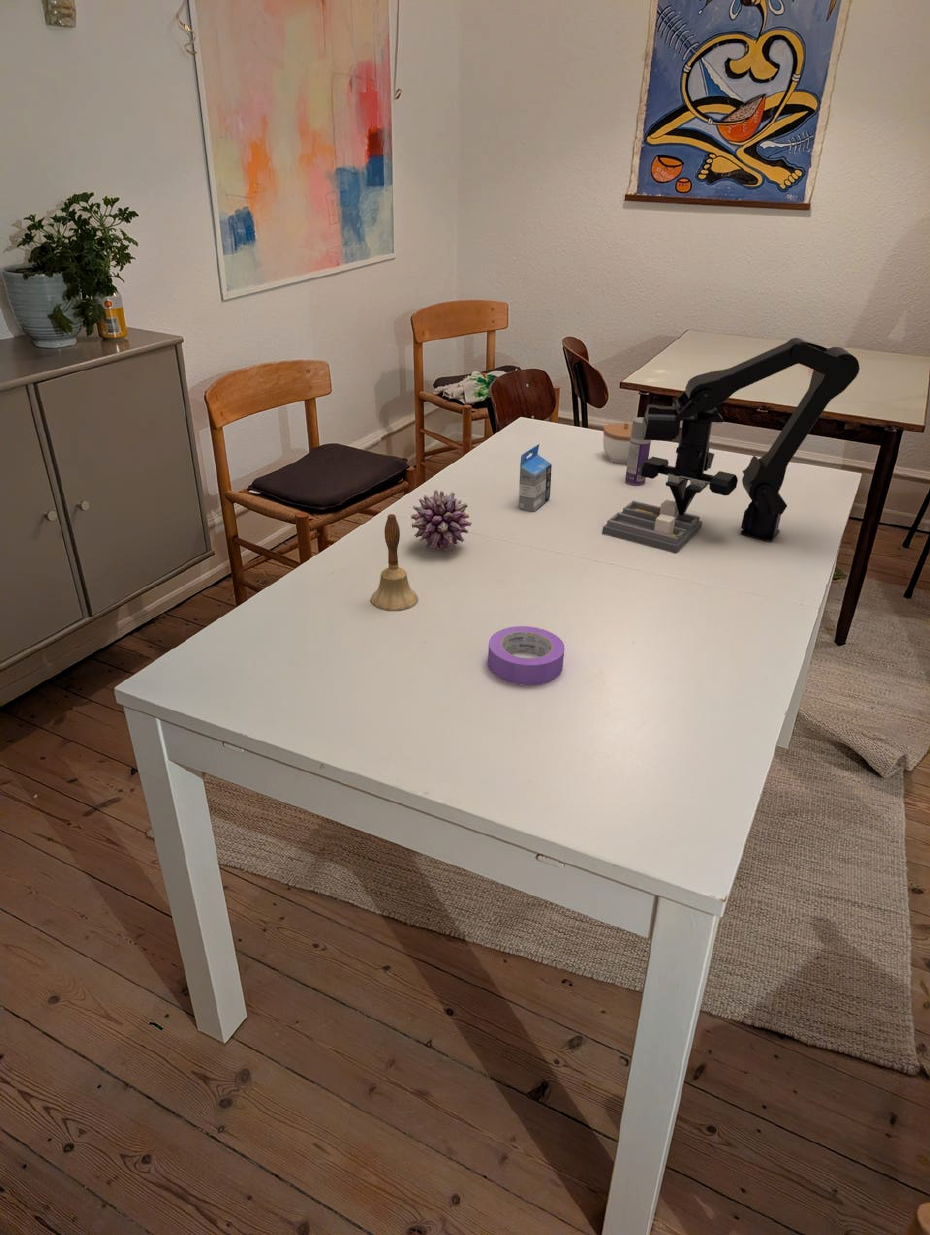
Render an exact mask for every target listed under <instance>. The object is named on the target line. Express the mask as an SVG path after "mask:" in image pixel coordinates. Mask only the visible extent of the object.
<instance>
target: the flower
mask: <svg viewBox="0 0 930 1235" xmlns="http://www.w3.org/2000/svg"><path fill="white" fill-rule="evenodd" d="M455 495H456V493H455V492H454V491H451V492H450V494H449V495H448V494H444V491H443V490H442V491H440V492H439V491H438V490H437V489H434V490H433V495H432V496H430V497H428V496H427V495H426V494H425V495H424V496H422V497H423V498H421V497H420V498H419V499H418V501H419V503H420V506H416V505H413V506H412V509H413V510H415V511H416V513H414V514H410V519H412V520H414V522H411V529H414V528H416V529H418V530H417V532H416V533H415V534H414V536H415V538H420V539H419V541H420V542H423V540H425V541H426V543H427V544H426V546H425V548H426V549H430V548H431V546H432V547H434V548H435V547H436V549H439V550H440V549H441V548H442V549H443V551H444V552H448V551H449V546H450V545H455V546H457V544H458V541H459V542H461V543H463V542H464V541H465V538H464V537H463V535H462V533H464V534H468V533H469V529H466V527H467V526H468V527H470V526H472V524H473V523H472V522H471V521H469V520H466V519H468V518H470V515H469V513H468V514H466V511H465V510H466V508H468V507H469V505H468V503H467V502H466V503H462V499H459V500H458V501H457V499H456V498H455Z"/></svg>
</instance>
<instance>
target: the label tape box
mask: <svg viewBox="0 0 930 1235" xmlns="http://www.w3.org/2000/svg"><path fill="white" fill-rule="evenodd" d="M539 447H540V443H538V444H536V445H535V446H533V447H532V448H530V449H528V450H527V451H525V452H523V453H522V454H521V456H520V464H519V491H518V492H519V493H518V494H519V496H518V497H519V498H518V510H523V511H527V512H535V511H536V510H538V509H539V508H540V507H541V506H543V505H544V504H545V503H546V502H548V501H549V500H551V499H550V498H551V483H552V468H553V467H552V466H553V464H552V463H551V462H549V461H548V460H546V459H545V458H544V457H542V456H540V455H539V454H538V453H539V449H540V448H539Z"/></svg>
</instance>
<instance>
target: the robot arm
mask: <svg viewBox="0 0 930 1235" xmlns="http://www.w3.org/2000/svg"><path fill="white" fill-rule="evenodd" d="M859 363H860V362H859V360H858V359H857V357H855V356H854V355H853V354H851V353H850V352H849V351H848V350H846V349H844V348H843V347H841V346H831V347H829V348H828V347H825V346H822V345H820V344H816V343H812V342H808V341H806V340H804V339H803V338H800V337H794V338H790V339H789V340H788V341H786V342H785V343H782V344H780V345H778V346H776V347H774V348H771V349H770V350H767V351H765V352H762V353H760V354H758V355H755V356H754V357H752V358H749V359H747V360H745V361H743V362H740V363H739V364H736V365H734V366H731V367H730V368H726V369H722V370H721V369H719V370H713V371H712V370H711V371H708V372H705V373H701V374H697V375H695V376H693V377H692V378H691V377H690V379H688V381H687V383H686V386H685V389H684V391H682V393H681V394H679V396H678V397H677V398H676V399H675V400H674V401H673V402H672V405H671V406H667V405H657V404H647V407H646V411H645V412H644V413H645V414H644V418H643V424H642V439H643V440H651V441H658V442H659V441H660V442H661V441H663V442H672V441H673V440H676V438H677V437H679V440H678V446H677V447H676V450H675V454H676V459H675V465H674V466H671V465H669V460H668V459H666V458H661V457H657V456H651V457H649V458H648V460H647V461H646V462H644V463H643V464H642V466H641V469H640V476H643V477H646V478H647V479H655V478H656V477H658V476H659V474H661V475H664V476H668V477H667V481H666V482H665V486H666V487H669V489H670V491H671V494H672V497H673V498H674V501H675V502H676V505H677V509H678V512H679V515H682V516H683V515H684V514H685V513H687V510H688V508H689V506H690V504H691V503H692V501H693V499H694V498H695V496H696V495H697V494H700V493H701V492H702V491H703V490H705V489H706V488H707V487H708V486H709V487H708V488H709V490H710V491H711V492H712V493H714V494H716V495H722V496H729V495H730V494H731V493H733V492H734V491H735V489H737V487H738V486H737V485H738V482H739V481H738V480H739V479H738V478H739V477H738V476H737V474H734V473H730V472H727V471H726V472H725V471H721V470H719V471H718V472H717V473H715V474H714V475H712V474H708V473H704V472H708V470H709V469H711V468H712V465H713V460H714V457H715V453H712V452H710V445H709V444H710V438H711V432H712V427H713V423H719V424H720V423H724V421H725V419H724V418H723V416H722V415H721V414H720V413H719V410H718V409H717V407H718V406H720V405H722V404H723V403H724V402H726V401H727V400H728V399H730V397H731V396H733V395H734V394H735V393H736V392H738V391H740V390H741V389H744V388H747V387H748V386H751V385H752V384H755V383H757V382H760V381H762V380H764V379H766V378H769V377H771V376H773V375H776V374H778V373H780V372H782V371H784V370H787V369H789V368H791V367H793V366H795V365H801V366H804V367H807V368H809V369H811V370H812V374H811V378H810V382H809V387H808V389H807V391H806V392H805V394H804V396H803V397H802V398H801V400H800V401H799V402H798V404H797V407H796V408H795V409H794V410H793V413H792V414H791V416H790V417H789V419H788V420H787V422H786V423H785V425H784V426H783V428H782V430H781V431H780V433H779V434H778V436H777V437H776V439H775V440H774V442H773V444H772V445H771V447H770V448H769V450H767V452H766V454H764V455H761V457H760V458H759V457H757V456H755V455H753V456H752V457H751V458H750V462H749V463H748V465H747V467H746V468H745V469H743V470H742V474H743V476H742V480H741V481H742V483H741V484H742V486H743V489H744V490H745V492H746V494H747V495H748V497H749V499H750V500H751V501H750V502H749V504H747V507H746V508H745V510H744V512H743V516H742V517H743V518H742V522H741V525H740V528H741V531H740V535H741V536H745V537H750V538H752V539H757V540H762V541H766V542H770V543H771V542H773V541H774V539H776V537H777V536H778V534H779V533H780V529H779V526H780V522H781V517H782V514H783V513H784V512H785V510H786V509H787V508H788V505H787V503H786V502H785V500H784V498H783V496H781V494H780V493H779V492H780V490H781V487H782V486H783V483H784V480H785V475H786V473H787V472H786V471H787V467H788V465H789V463H790V462H791V460H792V458H794V456H795V455H796V453H797V451H798V449H799V448H800V447H801V445H802V444H803V442H804V441H805V439H806V438H807V436H808V435H809V433H810V431H811V430H812V428H813V427H814V425H815V424H817V421H818V419H819V418H820V417H821V415H822V413H823V412H824V411H825V409H826V407H827V406H828V404H830V402H831V401H832V400H834V399H835V398H836V397H838V396H839V395H841V394H842V393H844V391H845V390H846V389H847V388H848V387H849V386H850V385H851V384H852V382H854V380H856V379H857V376H858V374H859V373H860V364H859ZM679 435H680V436H679ZM688 481H689V485H688Z"/></svg>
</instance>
